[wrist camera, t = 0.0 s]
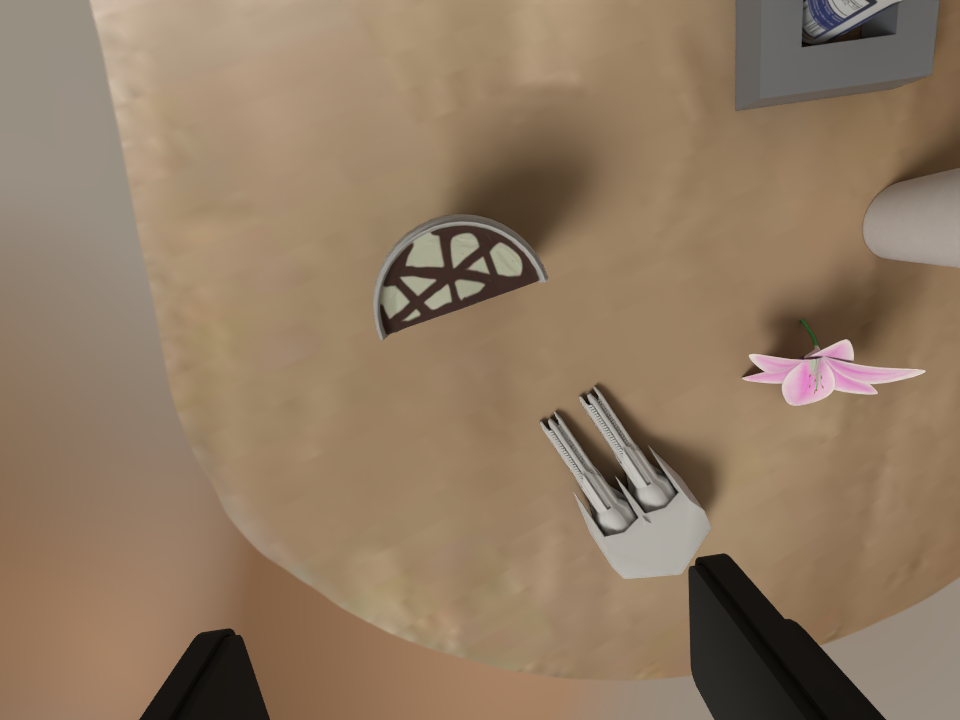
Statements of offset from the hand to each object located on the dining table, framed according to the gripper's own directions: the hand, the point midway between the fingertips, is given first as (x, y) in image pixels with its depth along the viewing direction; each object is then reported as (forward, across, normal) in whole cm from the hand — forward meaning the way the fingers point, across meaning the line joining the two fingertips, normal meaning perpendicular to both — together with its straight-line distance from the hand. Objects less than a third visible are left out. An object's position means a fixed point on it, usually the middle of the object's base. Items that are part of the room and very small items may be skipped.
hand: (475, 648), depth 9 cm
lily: (+32, -29, +6) cm, 43 cm away
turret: (+32, -13, +16) cm, 38 cm away
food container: (+32, 0, -7) cm, 32 cm away
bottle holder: (+31, -31, -22) cm, 49 cm away
